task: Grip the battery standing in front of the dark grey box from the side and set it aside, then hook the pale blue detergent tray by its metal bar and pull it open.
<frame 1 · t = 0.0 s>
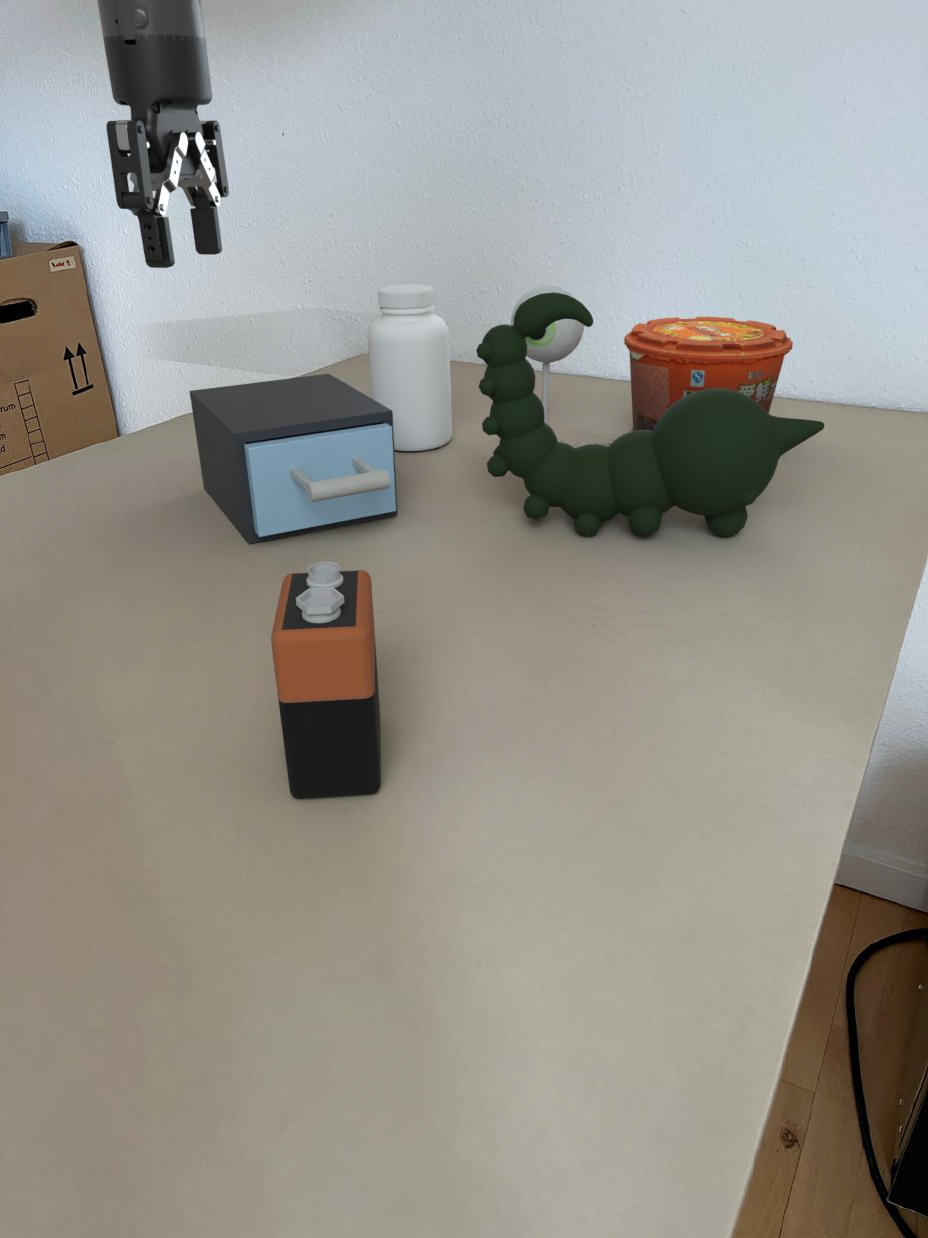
hand: (186, 260, 79), 19 cm above the table, tool pointing down, fingers open, 8 cm apart
drawer: (309, 467, 75), point 4 cm above the table, slide at 0.0 cm
pill bottle: (413, 443, 96), on the table
toy figurine: (637, 529, 75), on the table
food container: (696, 438, 96), on the table
dark grey box: (296, 501, 81), on the table
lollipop: (544, 441, 96), on the table
battery: (338, 762, 48), on the table
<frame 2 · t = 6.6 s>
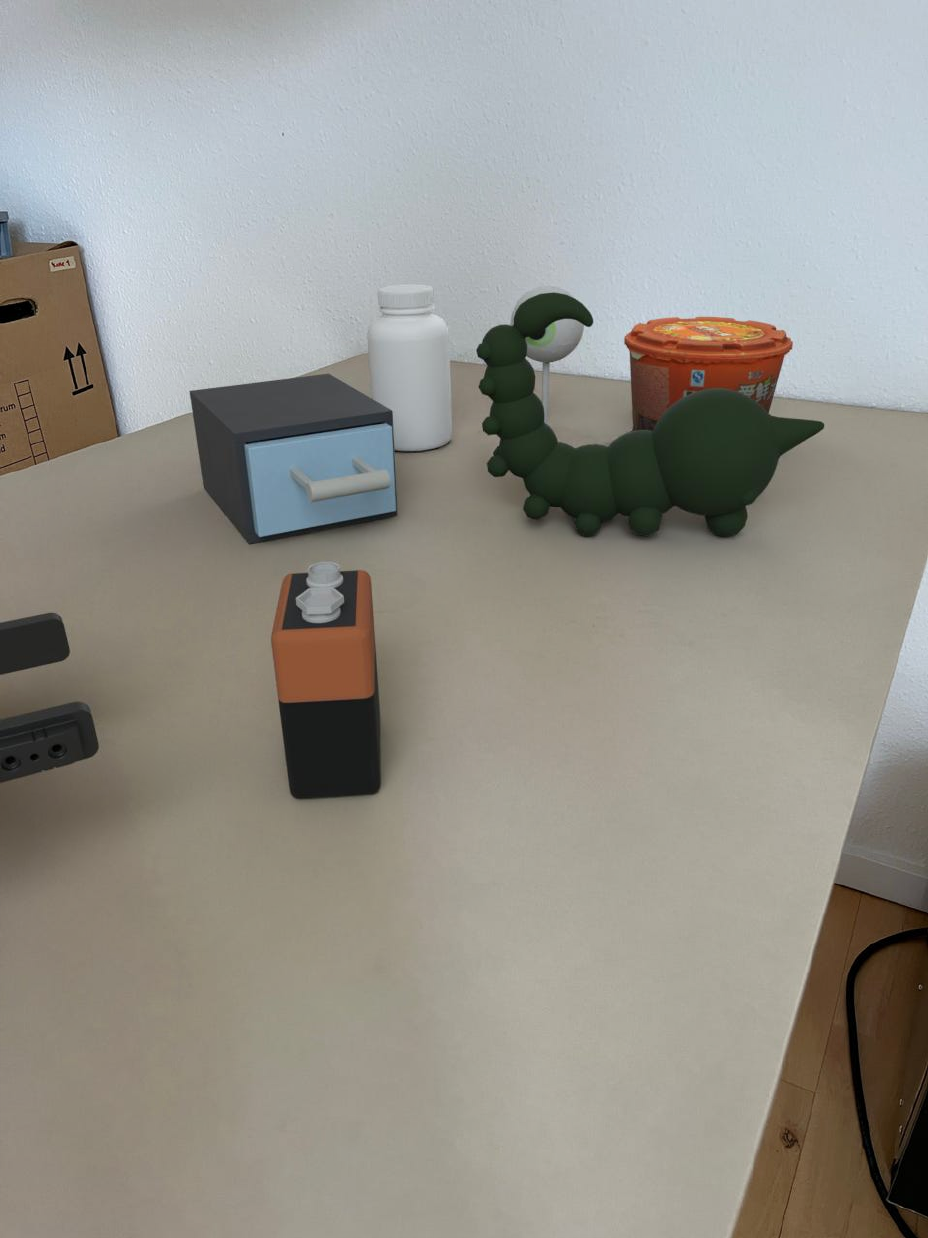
hand: (79, 677, 40), 8 cm above the table, tool horizontal, fingers open, 8 cm apart
nothing on the table moved.
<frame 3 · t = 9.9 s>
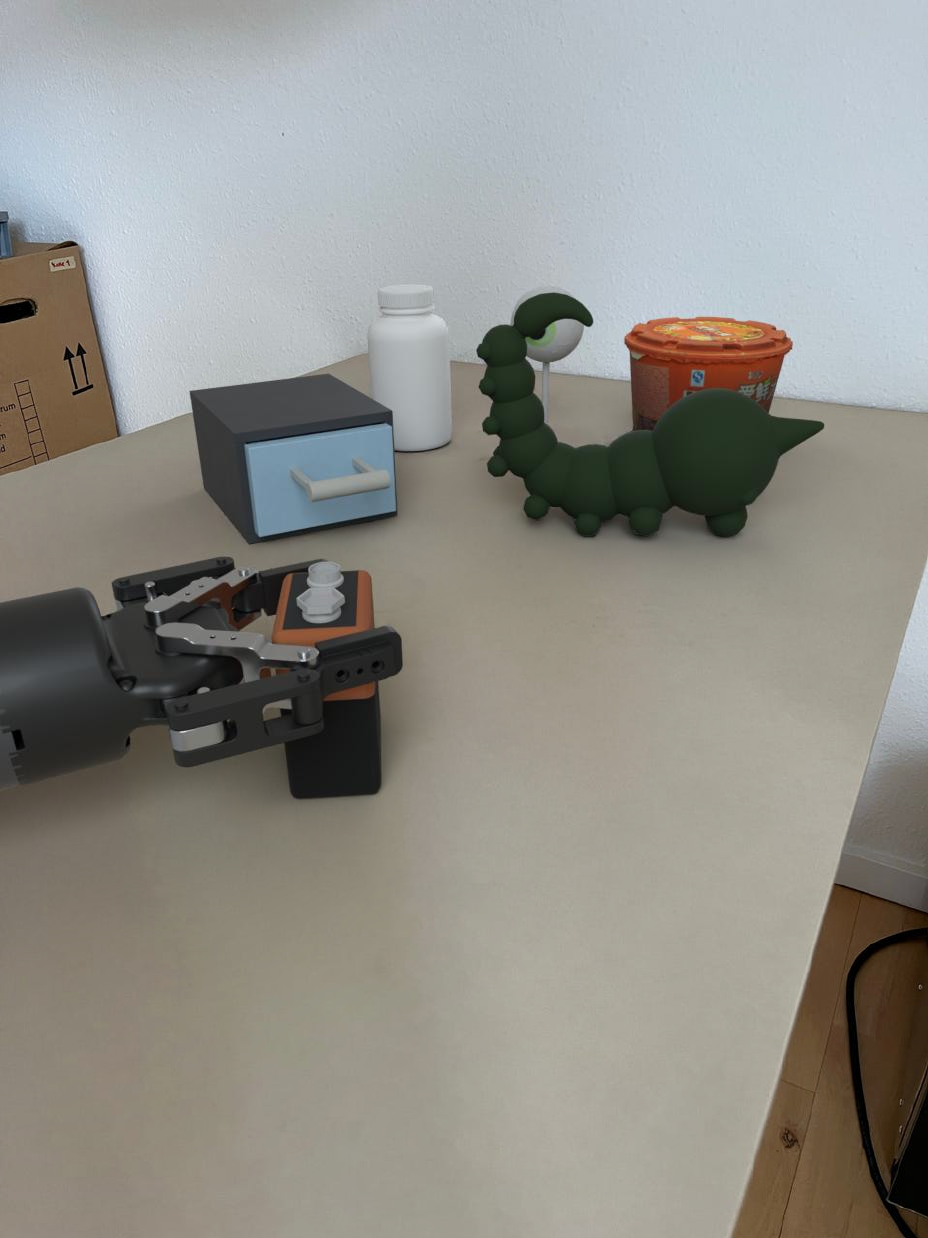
hand: (363, 611, 45), 8 cm above the table, tool horizontal, fingers closed on battery, 8 cm apart
battery: (338, 762, 48), on the table, touching gripper
everything else where it was.
when the fingers open (8 cm above the table, at t = 16.4 s): battery stays where it is, on the table.
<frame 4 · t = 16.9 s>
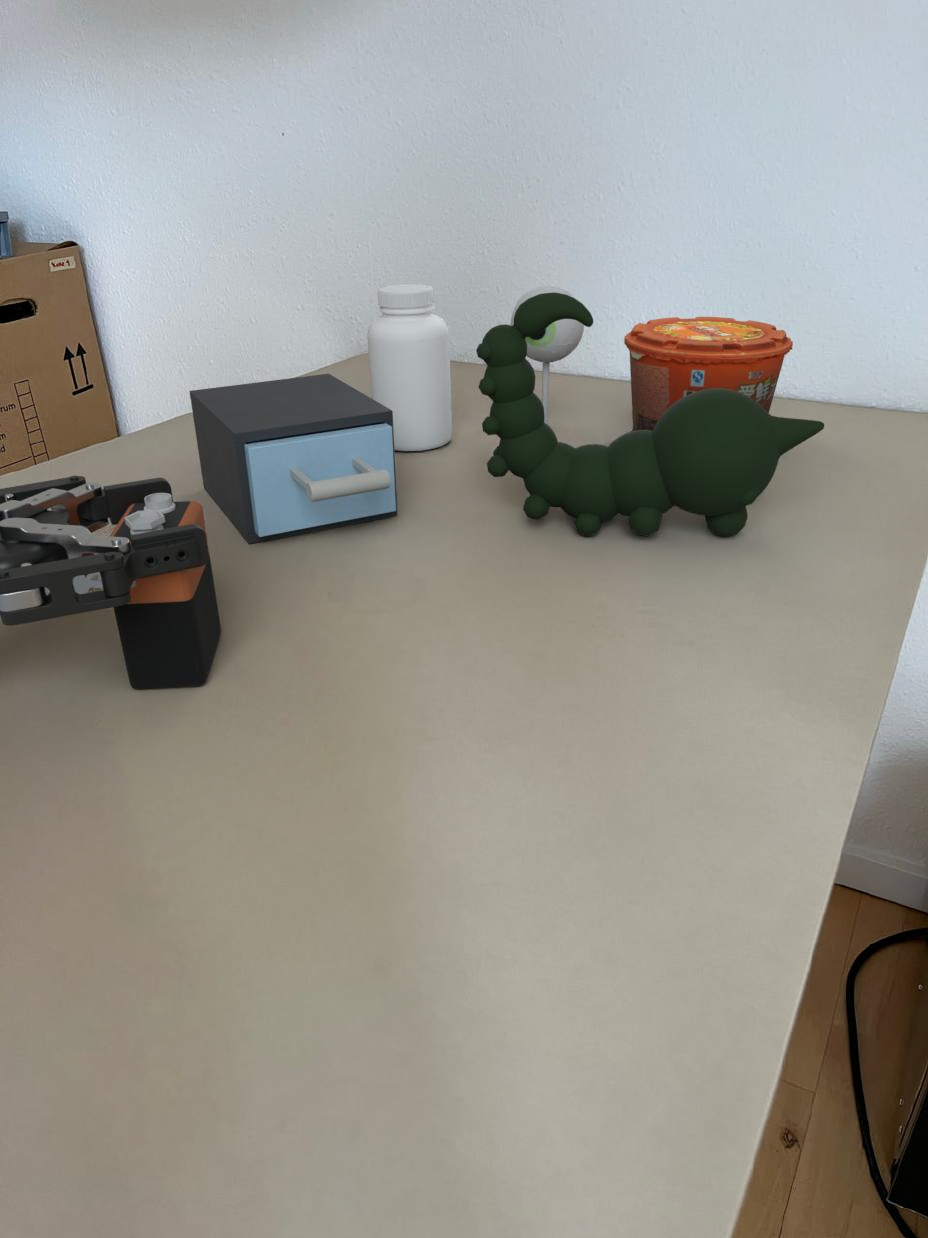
hand: (187, 517, 53), 9 cm above the table, tool horizontal, fingers open, 8 cm apart
battery: (179, 664, 57), on the table, touching gripper
everything else where it was.
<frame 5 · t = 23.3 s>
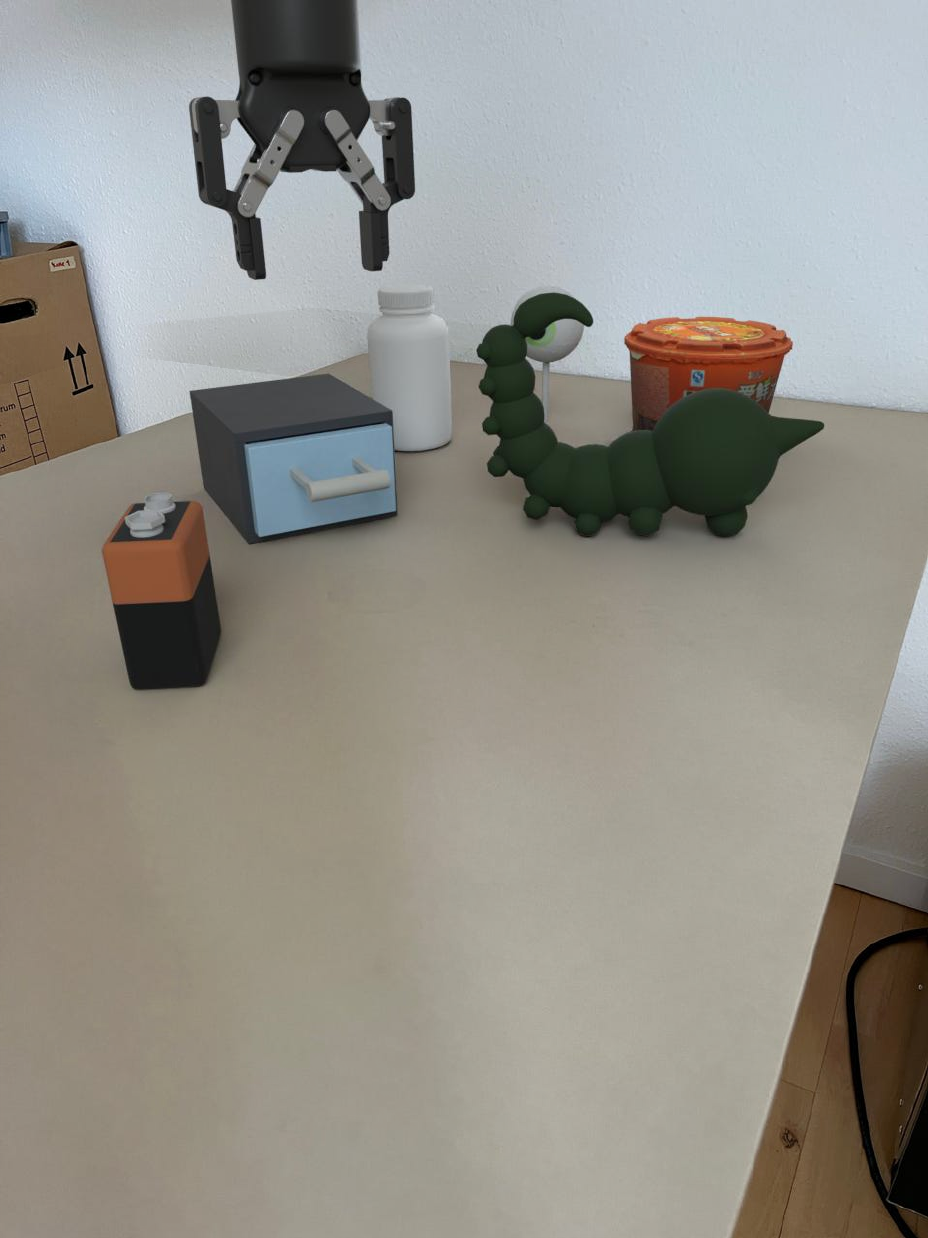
hand: (316, 273, 63), 20 cm above the table, tool pointing down, fingers open, 7 cm apart
battery: (179, 664, 57), on the table
everything else where it was.
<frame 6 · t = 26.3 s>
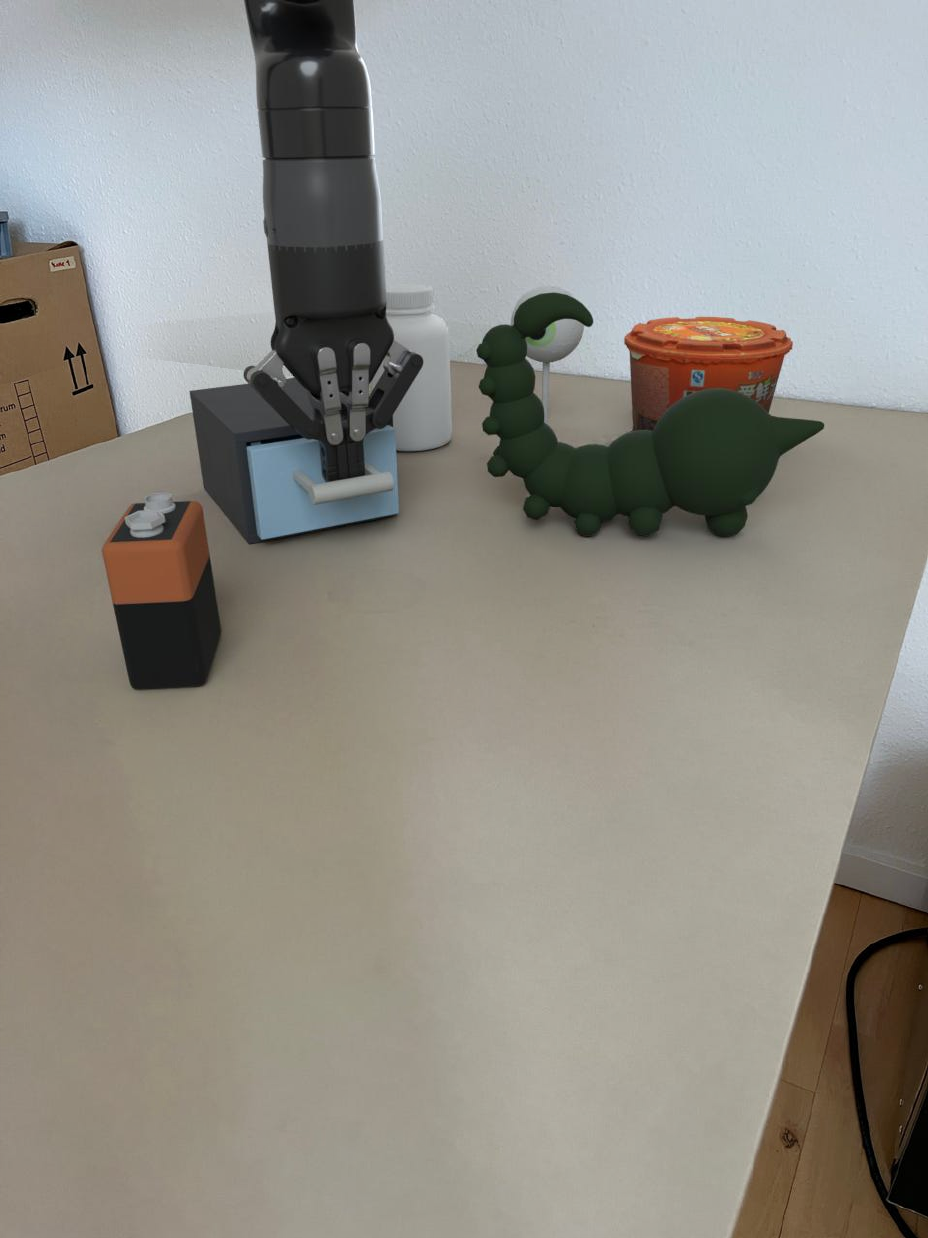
hand: (345, 488, 69), 5 cm above the table, tool pointing down, fingers closed
drawer: (312, 469, 75), point 4 cm above the table, slide at 0.6 cm, touching gripper
everything else where it was.
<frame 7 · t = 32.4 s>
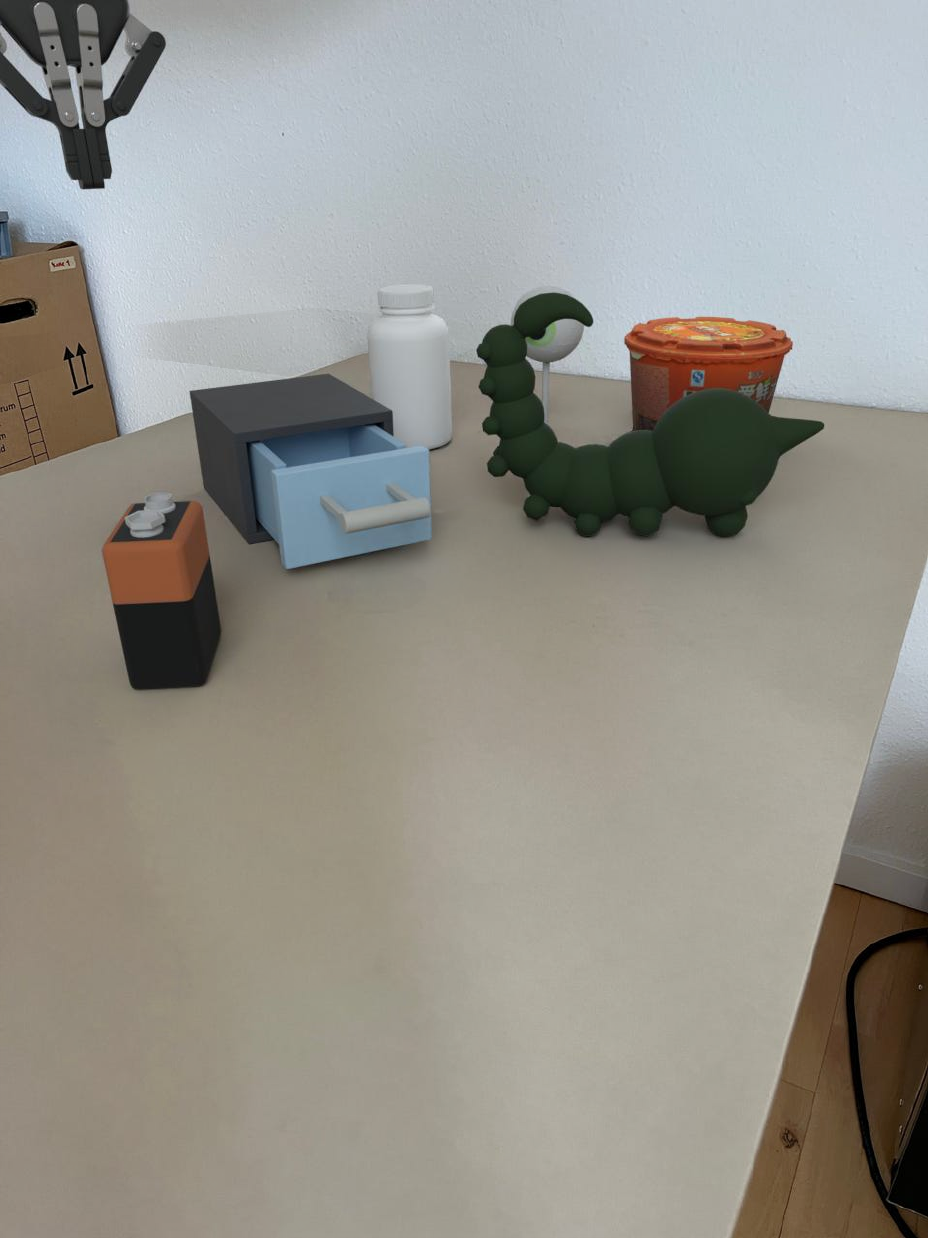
hand: (92, 187, 65), 25 cm above the table, tool pointing down, fingers closed
drawer: (339, 492, 70), point 4 cm above the table, slide at 6.7 cm
everything else where it was.
at the end: drawer slide at 6.7 cm; battery moved 14.8 cm from its start; battery tilted 0° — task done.
